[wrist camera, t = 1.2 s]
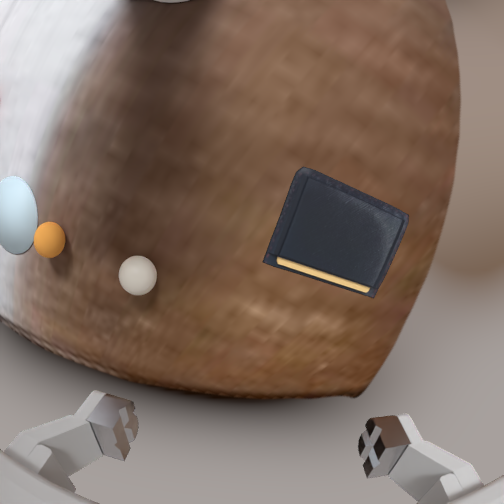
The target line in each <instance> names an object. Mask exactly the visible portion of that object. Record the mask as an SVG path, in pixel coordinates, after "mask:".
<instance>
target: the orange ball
mask: <svg viewBox="0 0 504 504" xmlns="http://www.w3.org/2000/svg"><path fill="white" fill-rule="evenodd" d="M64 245H65V234H64V231H63V229H62V228H61V227H60V226H59V225H58V224H56V223H54V222H45V223H43V224H41V225H40V226H39V227H38V228H37V230H36V232H35V235H34V246H35V248H36V250H37V252H38V253H39V254H40V255H41V256H43V257H46V258H53V257H55V256H57V255H59V254H60V253H61V252H62V250H63V248H64Z"/></svg>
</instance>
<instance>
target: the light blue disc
mask: <svg viewBox="0 0 504 504" xmlns="http://www.w3.org/2000/svg"><path fill="white" fill-rule="evenodd" d="M37 227H38V211H37V205H36V201H35V198H34V195H33V193H32V190H31V189H30V187H29V186H28V184H27V183H26V182H25V181H24V180H23V179H21V178H19V177H17V176H9V177H6V178H4V179H3V180H2V181H1V182H0V244H1V245H2V246H3V248H5V249H6V250H7V251H9V252H11V253H14V254H20V253H23V252H25V251H26V250H28V249H29V248H30V246H31V245H32V243H33V241H34V235H35V232H36V230H37Z"/></svg>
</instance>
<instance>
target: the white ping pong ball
mask: <svg viewBox="0 0 504 504" xmlns="http://www.w3.org/2000/svg"><path fill="white" fill-rule="evenodd" d="M156 279H157V272H156V268H155V266H154V264H153V263H152V262H151V261H150V260H149V259H147V258H146V257H143V256H132V257H130V258H128V259H126V260H125V261H124V262H123V263H122V265H121V267H120V270H119V280H120V283H121V285H122V287H123V288H124V289H125V290H126V291H127V292H128V293H130V294H133V295H143V294H146V293H148V292H149V291H150V290H151V289H152V288H153V287H154V285H155V283H156Z"/></svg>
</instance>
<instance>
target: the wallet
mask: <svg viewBox="0 0 504 504" xmlns="http://www.w3.org/2000/svg"><path fill="white" fill-rule="evenodd" d="M408 221H409V215H408V214H406V213H404V212H403V211H401V210H399V209H397V208H395V207H393V206H391V205H389V204H387V203H385V202H383V201H381V200H379V199H376V198H374V197H372V196H370V195H368V194H365V193H363V192H361V191H359V190H357V189H355V188H353V187H350V186H348V185H346V184H344V183H342V182H340V181H337V180H335V179H333V178H331V177H329V176H326V175H324V174H322V173H320V172H318V171H316V170H313V169H309V168H306V167H302V168H301V169H299V170H298V171H297V172H296V174H295V176H294V179H293V181H292V183H291V186H290V189H289V192H288V195H287V197H286V200H285V203H284V206H283V209H282V212H281V214H280V217H279V220H278V222H277V225H276V227H275V230H274V233H273V235H272V238H271V240H270V243H269V246H268V249H267V252H266V254H265V257H264V260H263V263H266V264H269V265H271V266H274V267H277V268H280V269H284V270H288V271H291V272H294V273H297V274H300V275H303V276H307V277H310V278H313V279H316V280H319V281H322V282H325V283H328V284H331V285H334V286H338V287H341V288H344V289H347V290H350V291H353V292H356V293H359V294H362V295H366V296H369V297H372V298H374V297H375V295H376V293H377V290H378V289H379V287H380V285H381V283H382V282H383V280H384V278H385V276H386V274H387V271H388V269H389V267H390V265H391V263H392V261H393V258H394V256H395V254H396V252H397V249H398V247H399V245H400V243H401V240H402V238H403V235H404V233H405V230H406V228H407V225H408Z"/></svg>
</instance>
